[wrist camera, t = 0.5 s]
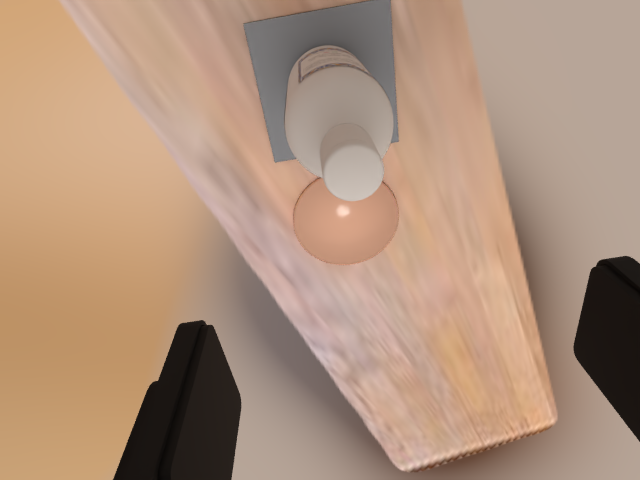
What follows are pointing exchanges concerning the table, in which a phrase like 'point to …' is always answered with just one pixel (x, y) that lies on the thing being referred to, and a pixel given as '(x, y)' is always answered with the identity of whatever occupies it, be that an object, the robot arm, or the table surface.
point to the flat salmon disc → (344, 224)
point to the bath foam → (338, 121)
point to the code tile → (313, 31)
